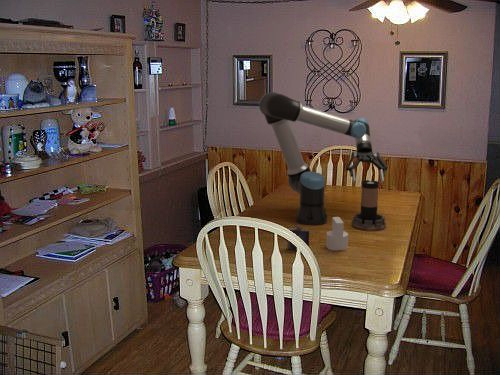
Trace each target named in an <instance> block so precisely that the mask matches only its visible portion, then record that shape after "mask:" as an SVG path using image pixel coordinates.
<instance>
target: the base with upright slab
mask: <svg viewBox="0 0 500 375" xmlns="http://www.w3.org/2000/svg"><path fill="white" fill-rule="evenodd" d="M331 221H332V222H331V230H329V231H326V242H325V243H326V245H325V247H326V249H328V250H330V251H335V250H336V251H337V250H342V251H347V249H348V248H349V246H348V245H349V233H348V231H345V230H344V226H345V225H344V224H345V223H344V221H343V220H342V219H341V217H339V216H334V217H333V216H332V220H331Z"/></svg>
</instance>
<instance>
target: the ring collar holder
mask: <svg viewBox="0 0 500 375" xmlns="http://www.w3.org/2000/svg"><path fill="white" fill-rule="evenodd" d="M352 217H353V220H351V228H354V229H355V230H360V231H363V232H365V231H366V232H378V231H383V230H385V229H386V227H387V223H386V222H385V216H384V215H383V214H379V213H377V217H376V221H375V224H374V225H372V222H373V221H369V220H365V222H364V224H362V220H361V212H357V213H355V214H353V216H352Z"/></svg>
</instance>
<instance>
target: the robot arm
mask: <svg viewBox="0 0 500 375" xmlns="http://www.w3.org/2000/svg"><path fill="white" fill-rule="evenodd" d="M258 104H259V105H258V107H259V110H260V112H261V114H263V115H264V118H265V120H266V122H267V123H266V124H268V125H270V126H271V127H272V130H273V132H274V136H275V138H276V140H277V143H278V145H279V148H280V150H281V153H282V156H283V158H284V161H285V163H286V166H287V168H288V169H287V171H286V173H287V177H288V179H287V180H288V185H289V187H290V188H291V189H292V190H293V191H294V192H296V193H297V194H299V208H298V210H297V213H296V216H295V217H296V218H295V220H296V222H297V223H298V224H300V225H309V226H319V225H324V224H326V223H327V222H328V216H327V212H326V208H325V186H326V181H325V176H324V174H322V173H320V172H317V171H311V168H310V165H309V164H308V163H307V162H305V161H304V158H303V155H302V152H301V149H300V147H299V144H298V142H297V139H296V137H295V134H294V131H293V128H292V125H291V123H290V122H293V123H295V122H297V121H298V122H301V123H305V124H307V125H312V126H315V127H317V128H322V129H326V130H328V131H333V132H336V133H338V134H342V135H345V136H348V137H352V138H355V146H356V147H355V148H356V153H354V152H351V154H350V159H349V161H348V162H347V165H346V167H345V170H346V171H347V172H349V175H350V178H352V184H355V183H356V172H355V171H356V170H355V168H356V167H357V166H358V165H359V164H360V163H361V162H362V163H370V164H372V165H374V166H375V168H377V169H378V170H379V178H380V183H381V184H384V181H385V180H384V179H385V178H384V177H385V176H386V172H385V171H388V167H389V166H388V165H387V164H386V162H385V161H384V160H383V158H382V156H381V155H380V152H376V153H374V151H373V147H372V146H373V145H372V139H371V131H370V124H369V120H368V119H367V118H366V117H358V118H356V119H354V120H352V119H349V118H346V117H344V116H340V115H336V114H333V113H330V112H326V111H323V110H320V109H316V108H313V107H310V106H307V105H303V104H302V102H301V101H298V100H295V99H293V98H290V97H289V96H286V95H285V94H282V93H277V92H276V91H275V92H274V91H271V92H267V93H265V94H263V95H262V96H261V98H260V100H259V103H258ZM355 158H357V160H356V161H355V162H354V163H353V160H354V159H355ZM352 163H353V164H352Z"/></svg>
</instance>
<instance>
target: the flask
mask: <svg viewBox="0 0 500 375" xmlns="http://www.w3.org/2000/svg"><path fill="white" fill-rule="evenodd" d="M295 226H296V228H294V227H293V228H291V227H290V228H288V229H289V230H290V231H292V232H293V233H295V234H296V235H297V236H299V237H300V238H301V239H302V240H303V241H304V242H305V243H306V244H307V245H308V246H309V247H310V230H309V229H306V228H302V227H301V224H297V225H295ZM286 243H287V244H286V249H287V250H289V249H290V251H295V250H296V247H295V246H294V245H293V244H292V243H290V242H289V241H287V240H286ZM291 249H293V250H291Z"/></svg>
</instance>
